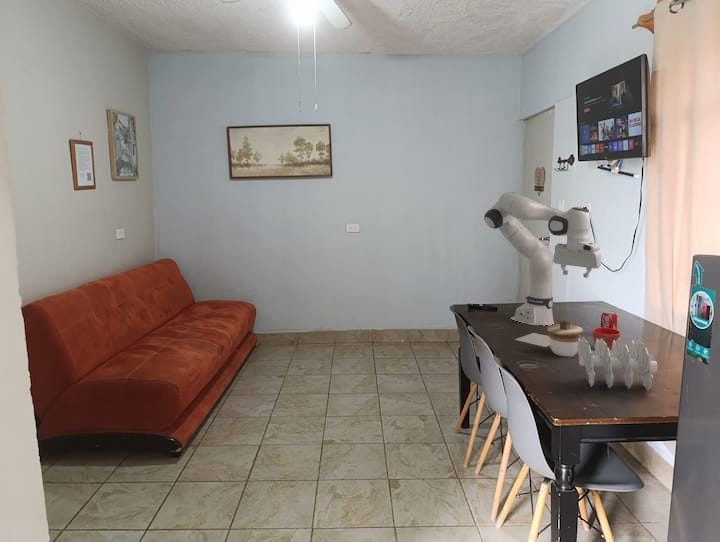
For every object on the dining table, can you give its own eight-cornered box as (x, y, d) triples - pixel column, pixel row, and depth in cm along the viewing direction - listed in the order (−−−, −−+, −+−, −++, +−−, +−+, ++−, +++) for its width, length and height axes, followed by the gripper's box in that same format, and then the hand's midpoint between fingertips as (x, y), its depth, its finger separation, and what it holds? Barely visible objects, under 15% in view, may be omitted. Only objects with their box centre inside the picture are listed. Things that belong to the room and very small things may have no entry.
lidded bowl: (584, 354, 219) (585, 329, 217) (573, 362, 210) (574, 336, 208) (555, 349, 227) (556, 325, 225) (543, 356, 218) (544, 331, 216)
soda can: (618, 339, 239) (619, 314, 237) (602, 338, 241) (603, 313, 239) (614, 334, 246) (615, 310, 244) (598, 334, 247) (599, 310, 245)
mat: (514, 341, 240) (514, 339, 239) (533, 334, 249) (533, 332, 249) (545, 349, 227) (545, 347, 227) (564, 341, 237) (564, 339, 237)
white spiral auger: (655, 403, 178) (579, 395, 183) (643, 367, 192) (572, 360, 197) (670, 366, 168) (589, 359, 173) (656, 330, 182) (581, 324, 187)
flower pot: (608, 358, 213) (609, 335, 212) (586, 351, 223) (587, 329, 222) (625, 353, 218) (626, 331, 217) (602, 347, 228) (603, 326, 226)
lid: (541, 330, 218) (541, 320, 217) (558, 324, 226) (558, 314, 226) (572, 337, 207) (572, 326, 206) (589, 330, 216) (589, 320, 215)
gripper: (551, 243, 229) (549, 273, 232) (596, 247, 214) (594, 280, 216) (558, 242, 233) (557, 272, 236) (603, 246, 218) (601, 278, 220)
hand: (575, 276), depth 226 cm, fingers open, 8 cm apart
